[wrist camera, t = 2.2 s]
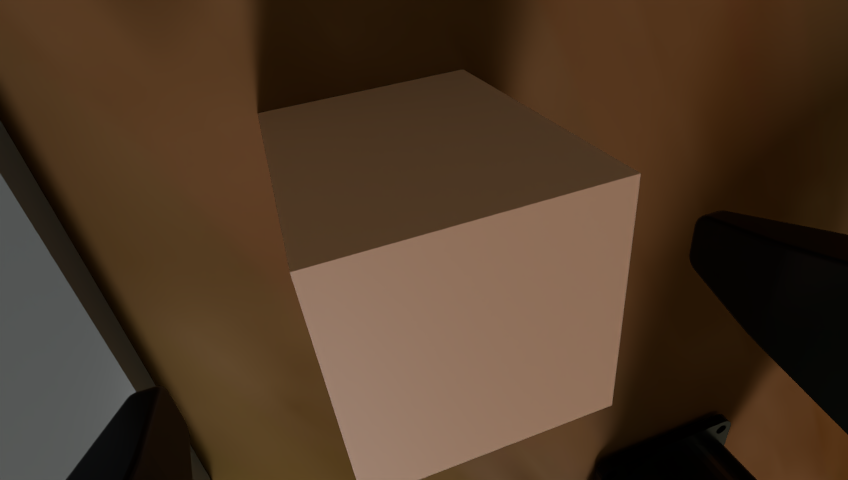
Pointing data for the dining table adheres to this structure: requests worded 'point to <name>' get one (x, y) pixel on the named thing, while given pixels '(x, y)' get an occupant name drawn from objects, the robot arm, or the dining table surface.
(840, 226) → the dining table surface
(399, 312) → the tan rectangular block
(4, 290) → the slate board
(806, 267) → the robot arm
